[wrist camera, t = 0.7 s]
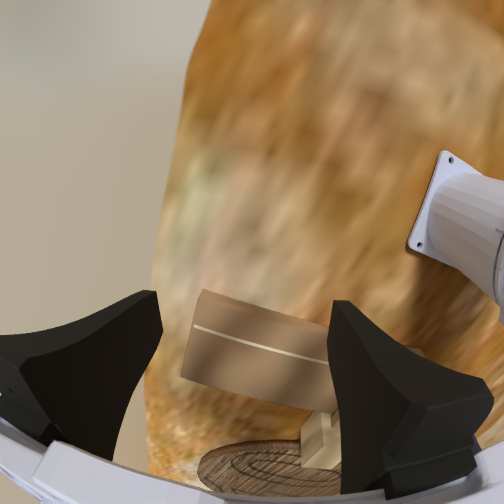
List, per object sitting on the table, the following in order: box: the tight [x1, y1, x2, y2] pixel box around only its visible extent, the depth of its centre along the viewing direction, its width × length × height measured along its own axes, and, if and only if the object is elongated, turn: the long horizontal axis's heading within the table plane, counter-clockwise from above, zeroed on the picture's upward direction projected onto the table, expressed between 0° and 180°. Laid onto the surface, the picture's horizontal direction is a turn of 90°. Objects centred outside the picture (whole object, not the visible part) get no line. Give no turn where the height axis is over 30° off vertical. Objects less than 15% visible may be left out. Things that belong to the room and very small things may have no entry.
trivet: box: [197, 440, 341, 497], centre depth 33 cm, size 25×25×2 cm
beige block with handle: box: [300, 410, 341, 469], centre depth 23 cm, size 4×14×6 cm, turn 163°
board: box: [180, 289, 426, 414], centre depth 23 cm, size 21×9×2 cm, turn 73°
